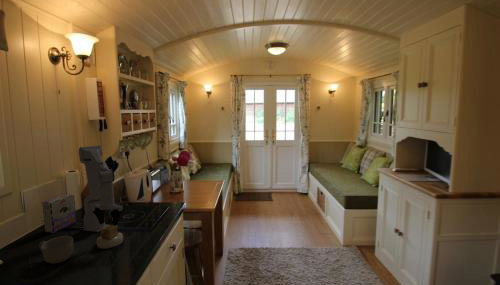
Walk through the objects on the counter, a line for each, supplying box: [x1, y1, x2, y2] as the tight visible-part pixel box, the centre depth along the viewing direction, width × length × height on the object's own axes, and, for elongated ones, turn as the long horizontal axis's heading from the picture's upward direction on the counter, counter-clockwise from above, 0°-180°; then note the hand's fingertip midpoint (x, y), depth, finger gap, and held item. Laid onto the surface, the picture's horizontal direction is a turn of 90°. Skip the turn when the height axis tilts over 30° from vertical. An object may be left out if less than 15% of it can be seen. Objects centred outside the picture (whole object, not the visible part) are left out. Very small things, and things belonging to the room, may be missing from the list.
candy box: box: [41, 193, 78, 234], centre depth 142 cm, size 14×6×16 cm, turn 164°
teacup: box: [38, 235, 75, 265], centre depth 112 cm, size 14×11×8 cm
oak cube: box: [100, 224, 119, 240], centre depth 126 cm, size 5×5×5 cm
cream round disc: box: [96, 231, 124, 249], centre depth 126 cm, size 11×11×3 cm
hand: (108, 224), depth 125 cm, fingers open, 7 cm apart
